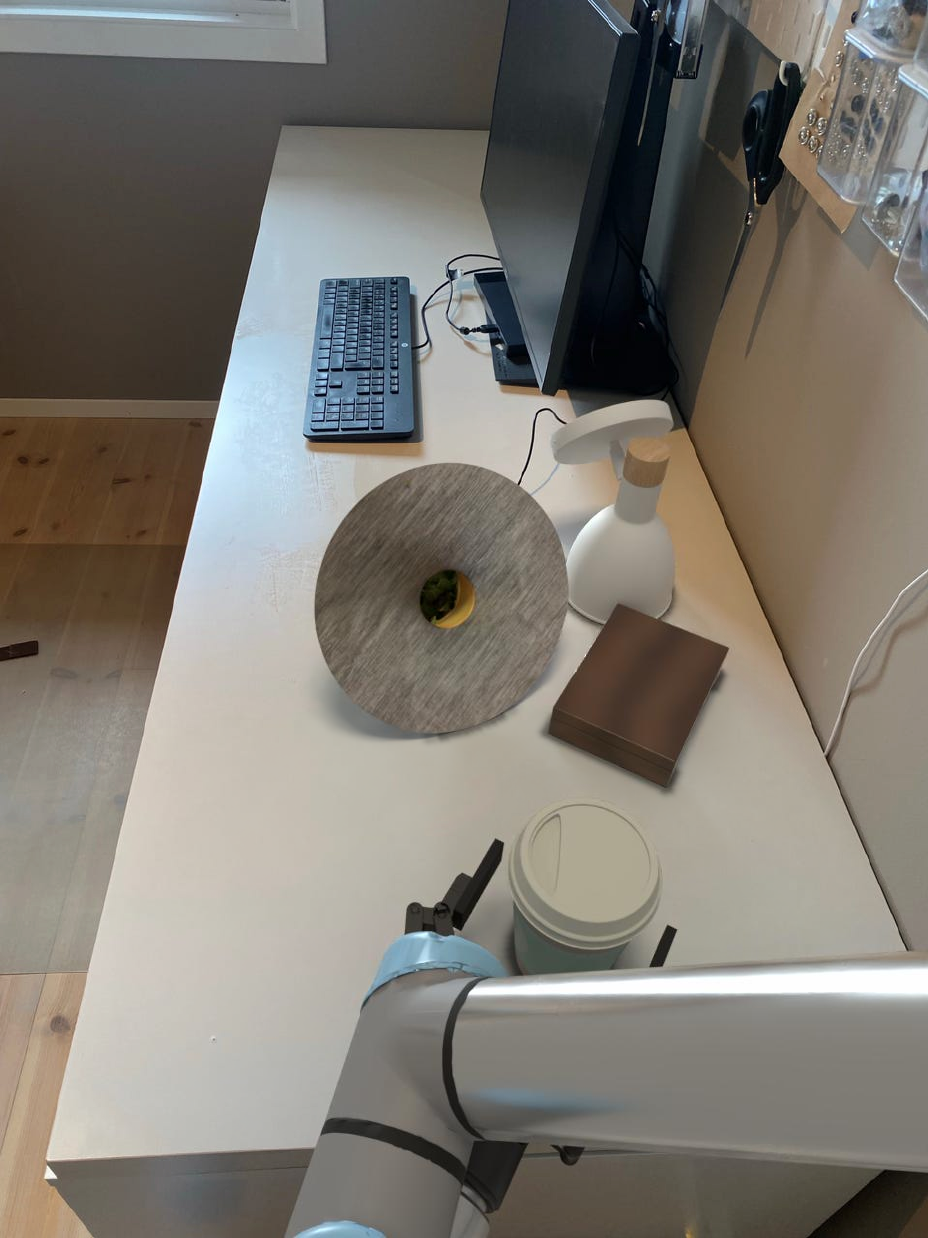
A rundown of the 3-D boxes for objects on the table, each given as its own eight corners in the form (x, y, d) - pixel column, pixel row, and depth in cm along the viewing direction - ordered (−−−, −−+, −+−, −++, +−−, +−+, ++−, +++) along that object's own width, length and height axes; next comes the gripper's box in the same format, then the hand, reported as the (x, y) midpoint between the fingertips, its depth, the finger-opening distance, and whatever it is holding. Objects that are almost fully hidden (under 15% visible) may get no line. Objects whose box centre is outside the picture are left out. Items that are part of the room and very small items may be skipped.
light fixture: (563, 647, 102) (636, 617, 83) (519, 471, 104) (579, 402, 85) (664, 624, 105) (756, 591, 86) (618, 454, 107) (698, 384, 88)
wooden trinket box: (719, 673, 93) (729, 647, 90) (666, 787, 83) (676, 762, 80) (611, 629, 96) (617, 602, 93) (547, 733, 86) (552, 707, 83)
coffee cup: (546, 865, 76) (570, 762, 66) (654, 947, 72) (699, 851, 61) (465, 958, 71) (477, 861, 60) (576, 1053, 66) (611, 967, 55)
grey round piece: (550, 658, 102) (480, 447, 98) (618, 678, 85) (537, 425, 81) (344, 744, 96) (260, 523, 92) (373, 784, 80) (272, 516, 76)
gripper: (271, 1090, 59) (432, 841, 73) (624, 1319, 52) (731, 996, 65) (258, 1050, 54) (434, 789, 67) (650, 1299, 47) (761, 951, 60)
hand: (581, 890), depth 66 cm, fingers open, 13 cm apart
